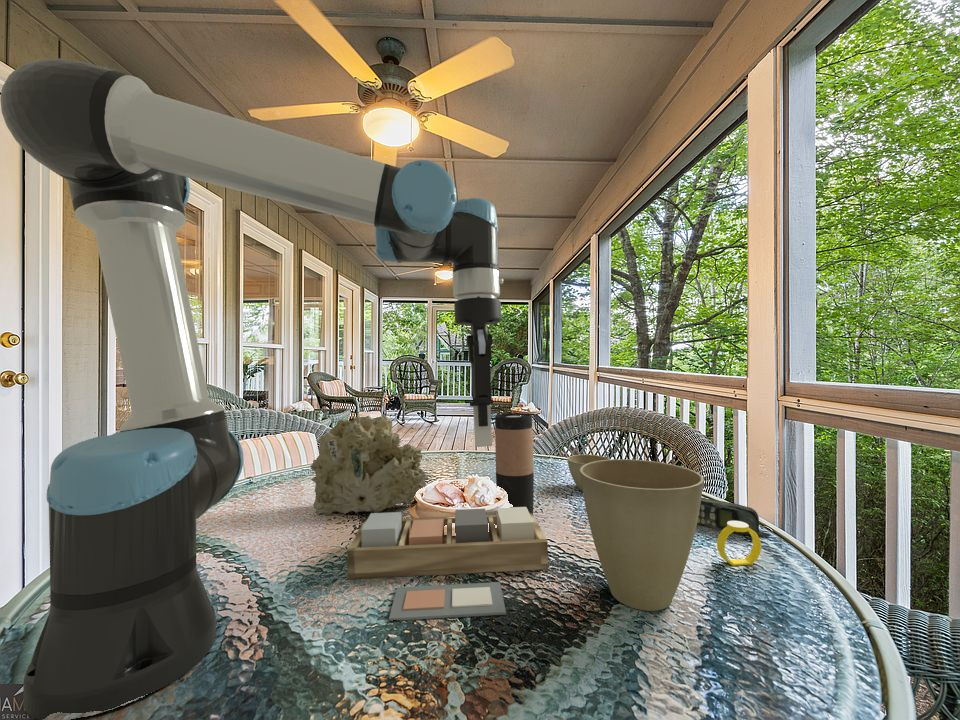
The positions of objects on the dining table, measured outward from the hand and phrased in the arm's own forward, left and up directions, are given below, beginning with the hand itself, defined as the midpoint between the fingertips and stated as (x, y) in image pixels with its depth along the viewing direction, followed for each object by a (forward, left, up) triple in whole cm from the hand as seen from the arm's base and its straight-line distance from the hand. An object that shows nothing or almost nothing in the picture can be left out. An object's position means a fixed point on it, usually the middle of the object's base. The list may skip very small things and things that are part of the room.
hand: (483, 445), depth 67 cm
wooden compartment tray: (0, +6, -17) cm, 18 cm away
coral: (+23, +23, -18) cm, 37 cm away
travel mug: (+17, -7, -17) cm, 25 cm away
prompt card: (-13, +6, -17) cm, 22 cm away
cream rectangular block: (0, -5, -14) cm, 15 cm away
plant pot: (-14, -19, -17) cm, 30 cm away
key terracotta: (0, +9, -16) cm, 18 cm away
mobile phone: (+6, -43, -18) cm, 47 cm away
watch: (-7, -37, -18) cm, 42 cm away
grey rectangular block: (0, +2, -14) cm, 14 cm away
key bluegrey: (0, +16, -14) cm, 22 cm away
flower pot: (+32, -27, -18) cm, 45 cm away
